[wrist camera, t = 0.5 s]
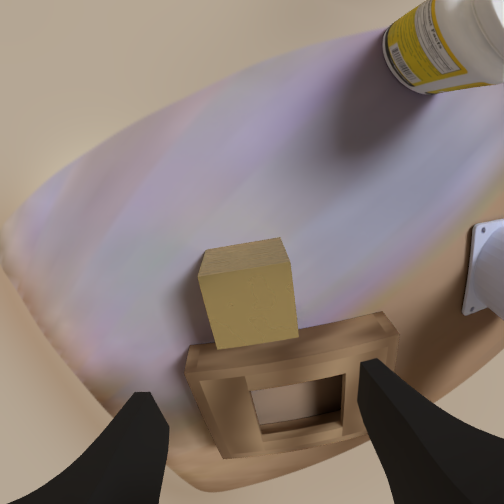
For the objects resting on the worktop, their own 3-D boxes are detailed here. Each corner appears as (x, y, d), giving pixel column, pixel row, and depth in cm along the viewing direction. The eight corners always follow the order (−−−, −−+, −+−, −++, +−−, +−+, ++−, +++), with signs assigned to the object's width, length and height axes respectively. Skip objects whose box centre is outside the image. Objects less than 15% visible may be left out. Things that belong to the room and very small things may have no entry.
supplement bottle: (448, 45, 14) (548, 18, 4) (440, 108, 15) (554, 105, 6) (384, 9, 13) (472, -53, 4) (372, 73, 15) (479, 31, 6)
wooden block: (279, 236, 18) (290, 261, 14) (288, 301, 20) (298, 337, 16) (206, 249, 18) (197, 276, 14) (221, 312, 20) (217, 349, 16)
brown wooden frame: (382, 311, 20) (399, 334, 17) (371, 406, 24) (381, 429, 21) (189, 345, 20) (183, 373, 18) (223, 433, 24) (223, 458, 21)
